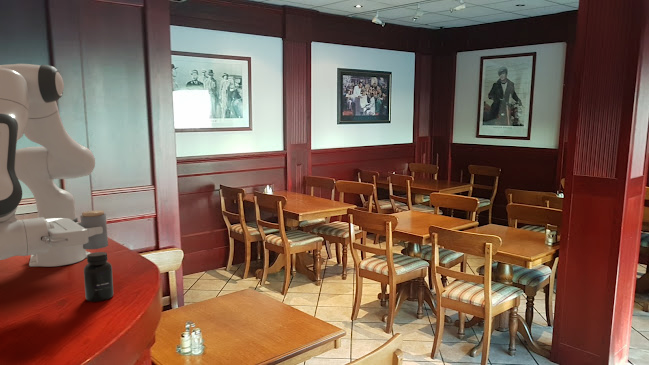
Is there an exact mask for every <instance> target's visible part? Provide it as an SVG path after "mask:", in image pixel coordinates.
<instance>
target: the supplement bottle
mask: <svg viewBox="0 0 649 365" xmlns="http://www.w3.org/2000/svg"><path fill="white" fill-rule="evenodd" d="M86 262H87V264H86V265H85V266H84V268H83V277H84V279H83V280H84V292H85V294H84V295H85V299H86V300H87V301H89V302H93V303H95V302H97V303H98V302H104V301H107V300H109V299H111V298H112V297H113V296H114V281H113V280H114V279H113V265H112V264H111V263H110V262H109V261H108V253H107V252H105V251H97V252H90V254H88V255H87V257H86Z"/></svg>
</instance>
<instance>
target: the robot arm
mask: <svg viewBox="0 0 649 365" xmlns="http://www.w3.org/2000/svg"><path fill="white" fill-rule="evenodd" d="M64 87H65V84H64V79H63V77H62V74H61V71H59V70H58V69H57V68H56V67H55V66H52V65H48V64H40V65H39V64H33V63H32V64H29V63H15V64H14V63H13V64H11V63H10V64H0V261H3V260H7V259H9V258H12V257H28V256H30V258H29V259H30V260H29V264H28V267H61V266H66V265H72V264H75V263H79V262H81V261H83V260H84V259H87V255H88V254H90V253H91V252H90V251H87V249H83V244H86V243H88V242H89V240H88V237H91V236H93V235H96V234H101V233H103V228H102V227H101V226H95V227H92V228H84V227H82V226H81V221H79V219H78V217H77V214H76V203H75V202H76V200H75V196H73V194H72V193H71V192H70V191H67V190H65V189H63V188H60V187H58V186H57V184H56V183H55V180H67V179H68V180H70V179H71V180H72V179H78V178H82V177H83V178H84V177H87V176H90V175H91V174H92V173H93V171H94V168H95V166H96V158H95V156H94V154H93V152H92V150H90V149H89V148H88V147H86V146H84V145H81V144H80V143H79V142H77V141H76V140H74V138H72V137H71V135H69V133H68V132H67V130H66V128H65V127H64V126H65V125H64V123H63V121H62V118H61V114H60V111H59V107H58V103H57V101H58V100H59V99H61V98H62V97H63V94H64ZM23 136H25V137H26V138H27V139H28V140H29V141H31V142H33V143H35V144H37V145H40V146H27V147H21V148H18V149H17V144H18V141H19V140H20V139H21V138H23ZM20 182H21V183H22V184H24V185H26V187H27V188H28V189H29V191H31V194H32V195H33V198H34V200H35V205H36V210H37V217H31V218H26V219H25V218H23V219H17V218H16V212H17V208H18V207H19V205H20V203H21V201H22V199H23V188H22V185H21V183H20Z"/></svg>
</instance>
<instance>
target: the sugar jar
mask: <svg viewBox="0 0 649 365" xmlns="http://www.w3.org/2000/svg"><path fill="white" fill-rule="evenodd" d="M80 222H81V226H82V227H84V228H92V227H95V226H101V227H102V228H103V233H101V234H96V235H93V236H91V237H88V240H89V242H88V243H86V244H83V249H86V250H99V249H104V248H107V247H108V246H109V241H108V227H107V213H105V211H104V210H103V209H102V210H99V209H98V210H96V209H95V210H87V211H83V212H81V215H80Z"/></svg>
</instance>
